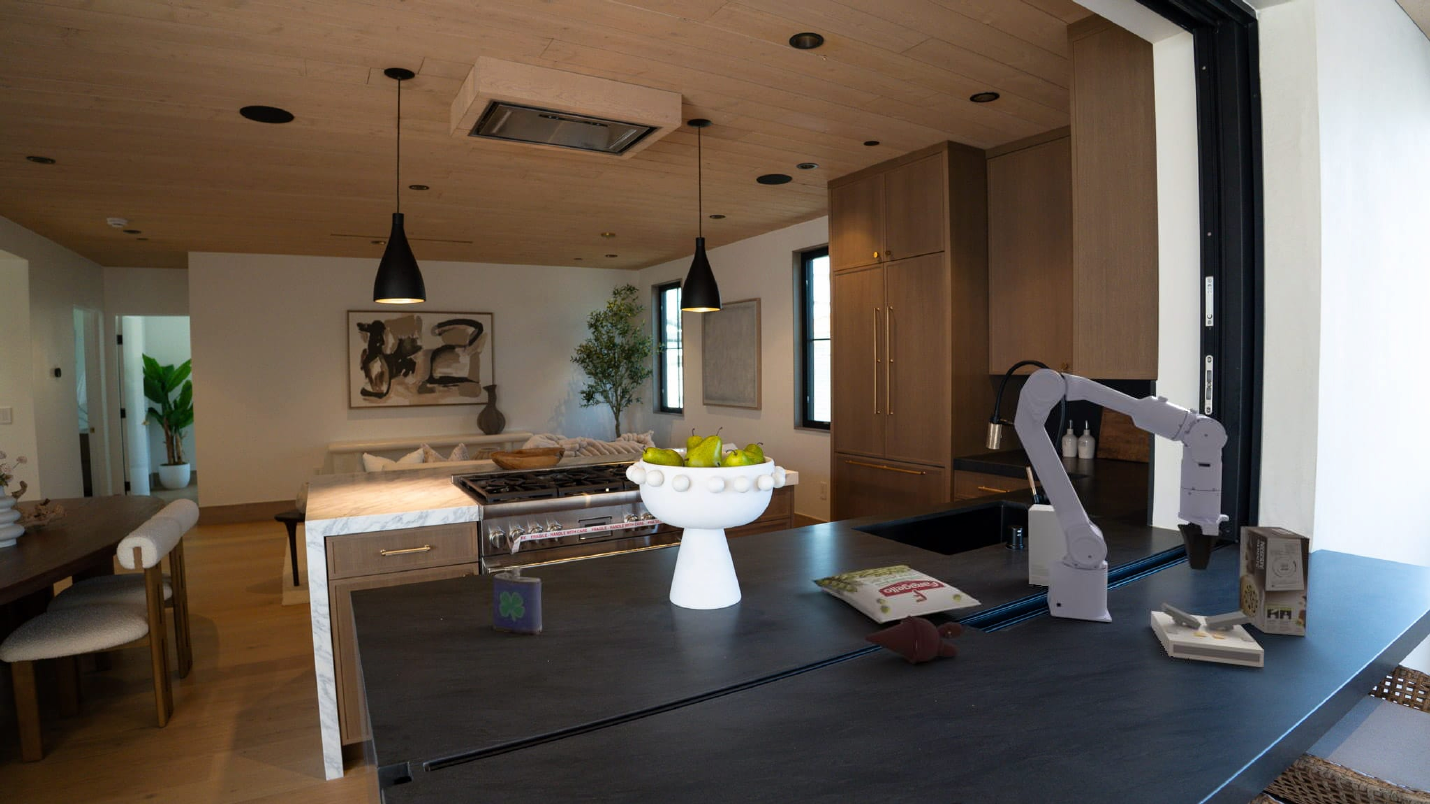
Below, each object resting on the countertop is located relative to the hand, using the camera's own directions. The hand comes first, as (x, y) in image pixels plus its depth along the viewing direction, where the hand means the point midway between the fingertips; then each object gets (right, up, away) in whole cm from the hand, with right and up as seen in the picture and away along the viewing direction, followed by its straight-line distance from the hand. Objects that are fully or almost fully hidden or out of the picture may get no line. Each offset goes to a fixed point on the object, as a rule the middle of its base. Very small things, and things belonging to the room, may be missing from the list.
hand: (1197, 568), depth 126 cm
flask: (-114, -11, 0) cm, 115 cm away
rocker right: (0, -7, -8) cm, 11 cm away
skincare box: (-13, -9, +25) cm, 29 cm away
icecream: (-51, -11, -13) cm, 54 cm away
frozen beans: (-48, -10, +12) cm, 51 cm away
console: (-4, -10, -7) cm, 13 cm away
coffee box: (+13, -10, +1) cm, 16 cm away
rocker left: (-7, -7, -6) cm, 12 cm away
